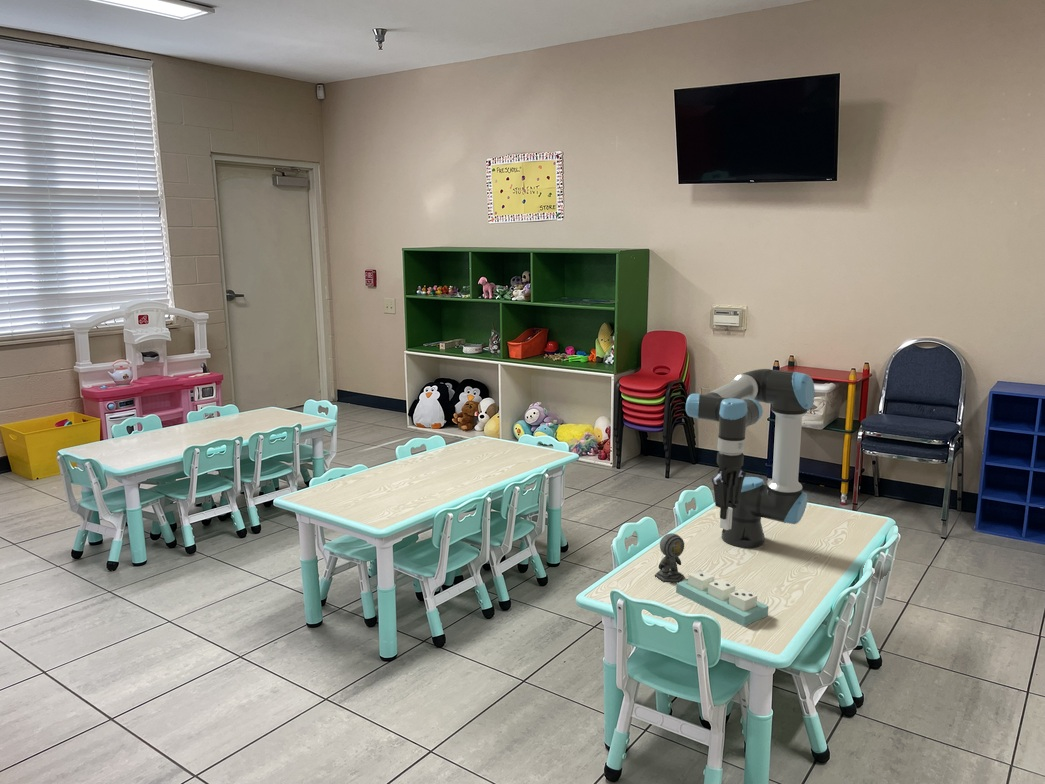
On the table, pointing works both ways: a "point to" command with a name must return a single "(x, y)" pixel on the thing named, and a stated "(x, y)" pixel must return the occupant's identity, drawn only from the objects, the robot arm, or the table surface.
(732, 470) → the robot arm
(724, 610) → the board
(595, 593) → the table surface
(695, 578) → the tile
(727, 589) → the tile
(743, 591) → the tile
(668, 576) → the figurine
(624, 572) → the table surface
